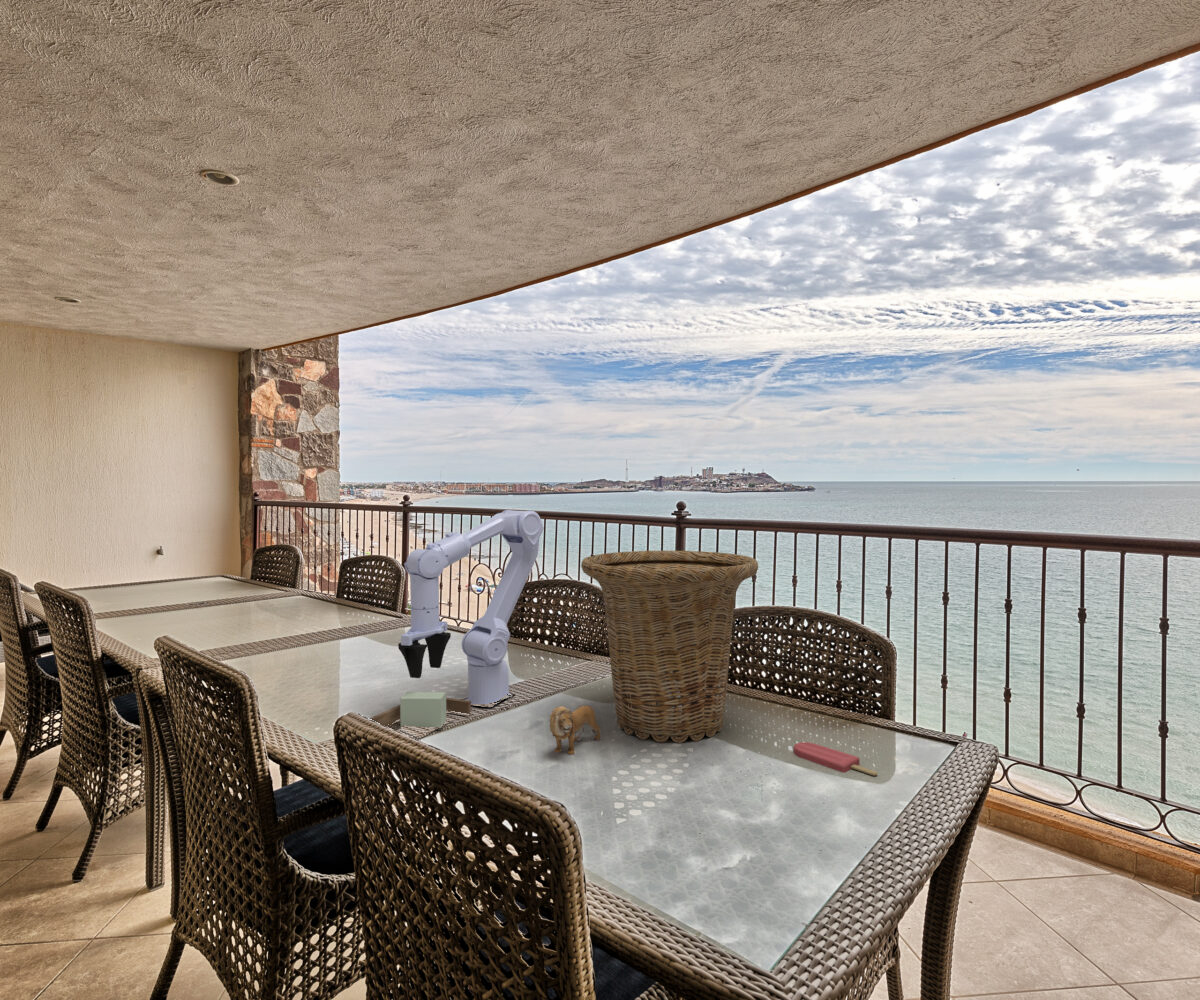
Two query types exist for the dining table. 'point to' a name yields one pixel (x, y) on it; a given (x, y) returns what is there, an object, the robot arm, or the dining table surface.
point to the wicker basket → (669, 637)
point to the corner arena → (394, 715)
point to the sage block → (423, 709)
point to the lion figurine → (572, 725)
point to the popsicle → (829, 757)
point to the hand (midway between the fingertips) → (425, 672)
